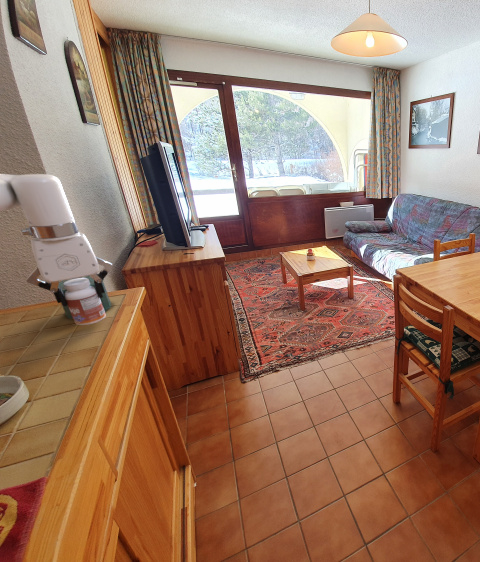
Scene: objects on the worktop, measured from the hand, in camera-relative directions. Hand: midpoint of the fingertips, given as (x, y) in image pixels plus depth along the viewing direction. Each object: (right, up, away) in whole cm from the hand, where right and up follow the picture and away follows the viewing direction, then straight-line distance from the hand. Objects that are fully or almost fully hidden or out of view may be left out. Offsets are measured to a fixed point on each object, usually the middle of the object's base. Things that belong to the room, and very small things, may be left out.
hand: (83, 299), depth 78 cm
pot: (-9, -4, +11) cm, 15 cm away
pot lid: (-8, +4, +8) cm, 12 cm away
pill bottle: (0, -6, +2) cm, 6 cm away
